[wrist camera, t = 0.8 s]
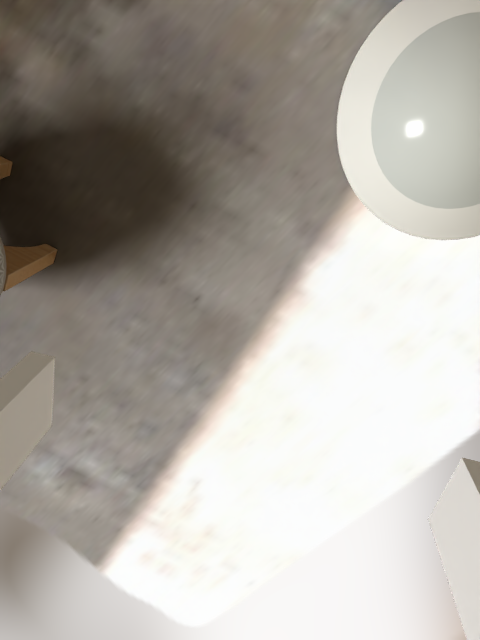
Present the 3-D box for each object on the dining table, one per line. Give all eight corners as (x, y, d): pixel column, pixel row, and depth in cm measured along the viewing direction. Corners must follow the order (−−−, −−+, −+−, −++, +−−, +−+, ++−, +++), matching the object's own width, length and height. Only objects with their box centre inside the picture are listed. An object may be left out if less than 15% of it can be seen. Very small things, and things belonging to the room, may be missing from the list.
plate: (303, 46, 33) (303, 44, 32) (575, -87, 29) (584, -94, 28) (374, 268, 39) (376, 271, 38) (610, 187, 35) (617, 189, 34)
